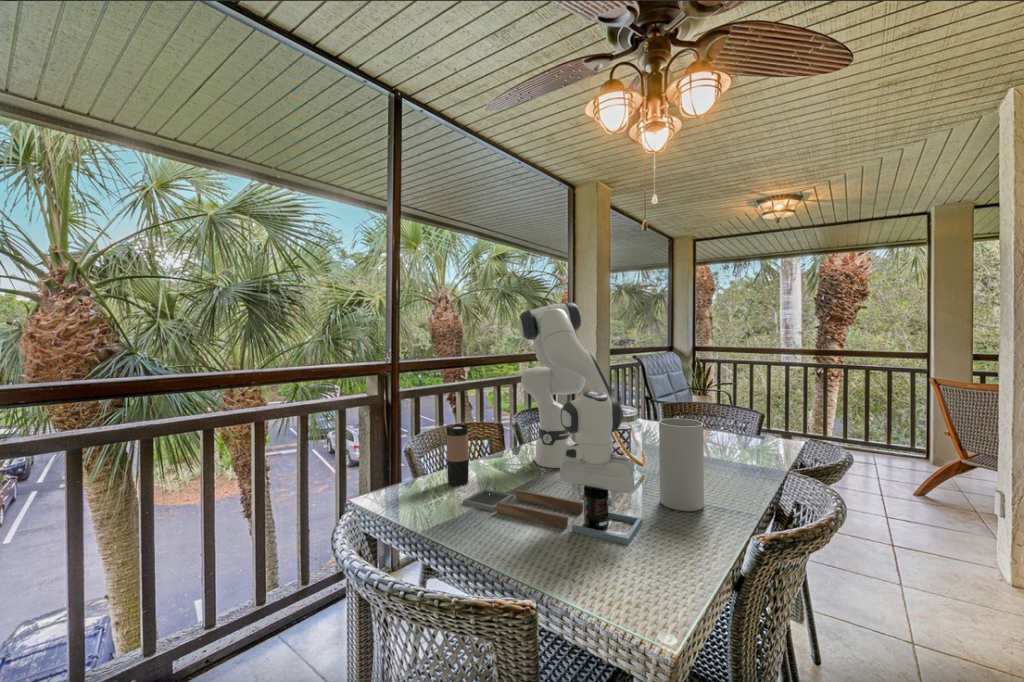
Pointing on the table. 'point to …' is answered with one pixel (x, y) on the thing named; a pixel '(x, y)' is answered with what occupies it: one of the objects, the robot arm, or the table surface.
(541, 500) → the channel
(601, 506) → the supplement container
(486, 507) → the tray
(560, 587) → the table surface
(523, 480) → the table surface
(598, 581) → the table surface
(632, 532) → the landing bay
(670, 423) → the cylinder vase
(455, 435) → the travel mug
